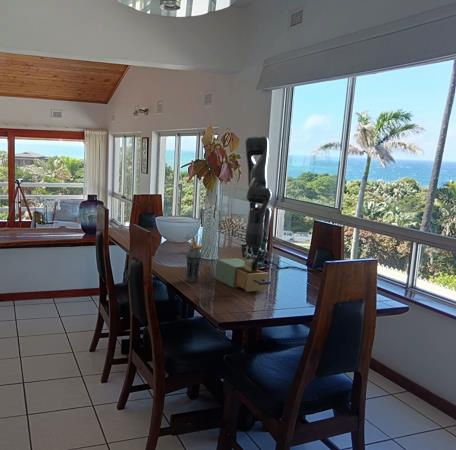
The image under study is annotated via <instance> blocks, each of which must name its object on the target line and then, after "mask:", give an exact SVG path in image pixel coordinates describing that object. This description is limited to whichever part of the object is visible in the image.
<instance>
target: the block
mask: <svg viewBox="0 0 456 450" xmlns="http://www.w3.org/2000/svg"><path fill="white" fill-rule="evenodd" d="M252 263H253V259H245V258H244V269H245V270H248V271H252ZM257 270H259V269H258V265H257ZM257 270H256V271H257Z"/></svg>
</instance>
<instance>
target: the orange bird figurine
mask: <svg viewBox="0 0 456 450" xmlns="http://www.w3.org/2000/svg"><path fill="white" fill-rule="evenodd" d="M189 238H190V236H189V234H186V238H185V239H184V243H185V244H186V245H188V249H189V250H190V249H192V248H193V245H194V242H190V239H189ZM186 240H187V241H188V243H187V242H186ZM202 246H203V245H200V244H198V243H197V241H196V240H195V248H197V249H199V250H200V251H201V248H202Z"/></svg>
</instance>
